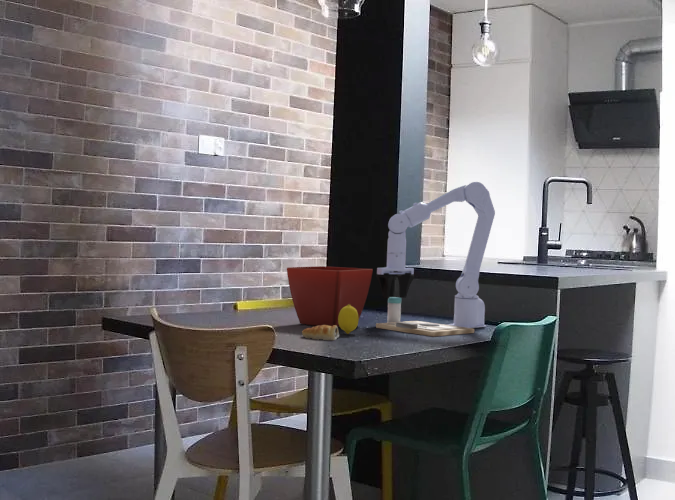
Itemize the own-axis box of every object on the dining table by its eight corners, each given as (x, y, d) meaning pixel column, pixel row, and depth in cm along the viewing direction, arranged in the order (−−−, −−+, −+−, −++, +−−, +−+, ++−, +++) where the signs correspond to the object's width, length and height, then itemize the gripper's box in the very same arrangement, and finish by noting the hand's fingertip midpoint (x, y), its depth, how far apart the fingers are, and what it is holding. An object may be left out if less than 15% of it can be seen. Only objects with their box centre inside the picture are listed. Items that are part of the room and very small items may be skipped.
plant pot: (282, 323, 239) (284, 266, 238) (319, 319, 255) (321, 265, 254) (337, 330, 228) (339, 270, 228) (372, 325, 244) (374, 269, 244)
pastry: (299, 339, 208) (299, 324, 208) (305, 336, 214) (305, 322, 214) (335, 341, 206) (335, 326, 206) (340, 338, 213) (340, 324, 212)
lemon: (356, 335, 217) (357, 305, 217) (335, 334, 218) (336, 304, 218) (359, 333, 223) (360, 304, 223) (339, 332, 224) (340, 303, 224)
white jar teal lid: (393, 322, 253) (394, 297, 253) (403, 324, 250) (404, 298, 250) (384, 323, 251) (385, 297, 250) (394, 324, 248) (395, 298, 247)
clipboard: (416, 324, 250) (417, 316, 250) (474, 332, 234) (474, 324, 234) (375, 327, 238) (376, 319, 238) (433, 336, 222) (433, 327, 222)
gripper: (402, 253, 258) (400, 296, 258) (370, 252, 248) (368, 297, 248) (419, 254, 253) (417, 298, 253) (387, 253, 243) (385, 299, 243)
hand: (394, 297), depth 250 cm, fingers open, 7 cm apart
